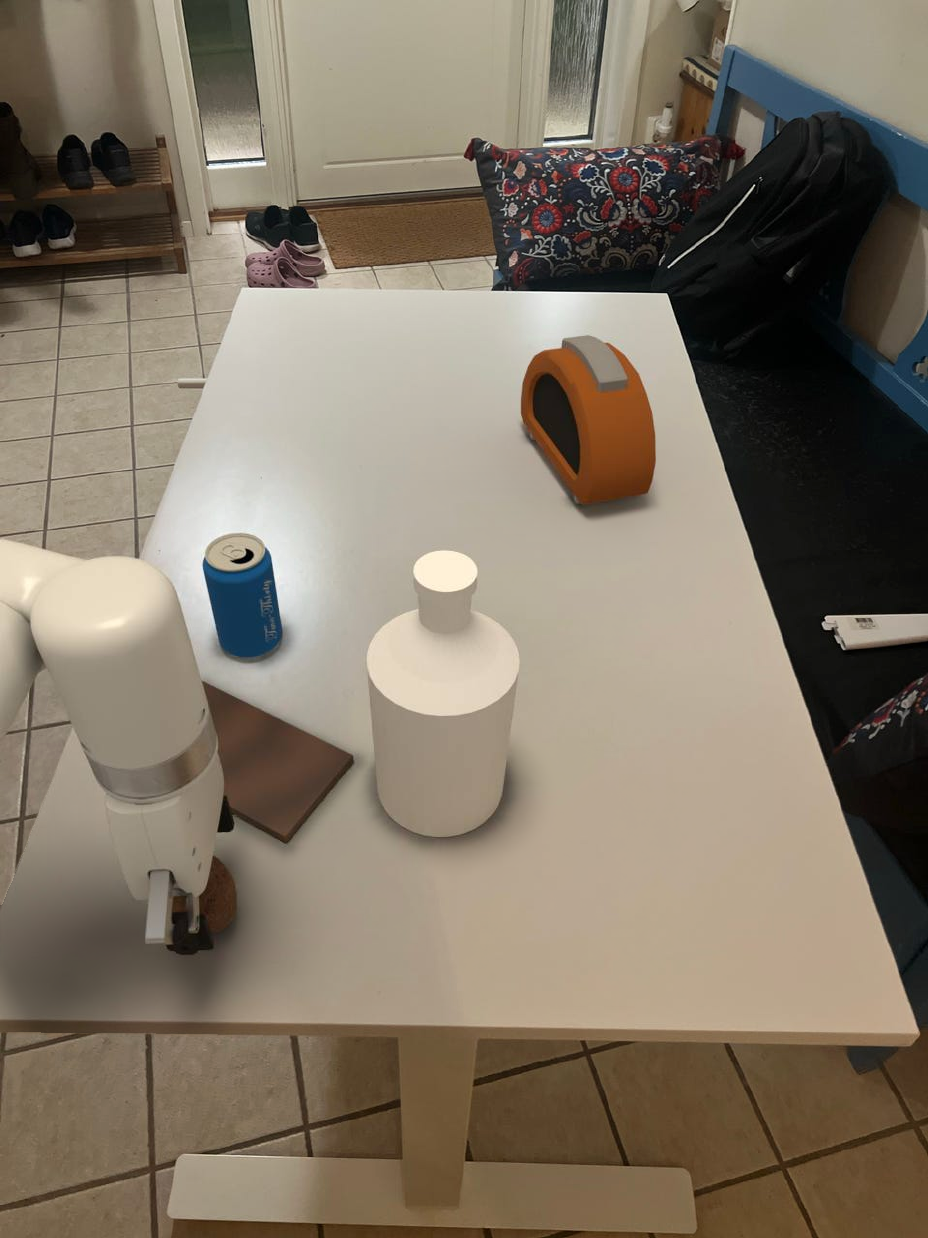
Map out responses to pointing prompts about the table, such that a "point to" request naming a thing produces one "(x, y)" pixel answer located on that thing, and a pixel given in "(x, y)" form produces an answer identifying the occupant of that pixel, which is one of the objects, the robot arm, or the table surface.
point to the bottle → (442, 703)
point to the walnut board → (271, 765)
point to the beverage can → (242, 595)
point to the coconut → (214, 897)
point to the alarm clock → (591, 419)
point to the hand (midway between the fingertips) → (203, 885)
